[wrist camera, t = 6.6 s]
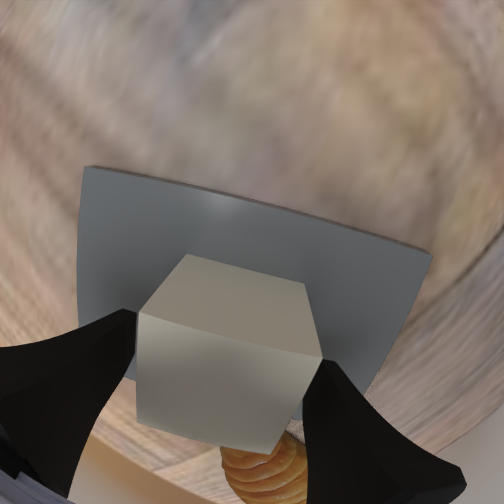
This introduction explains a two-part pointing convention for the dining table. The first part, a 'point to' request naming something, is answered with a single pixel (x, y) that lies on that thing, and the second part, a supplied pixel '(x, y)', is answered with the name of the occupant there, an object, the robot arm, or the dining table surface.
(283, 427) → the block
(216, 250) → the board
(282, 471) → the pastry
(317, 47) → the dining table surface
